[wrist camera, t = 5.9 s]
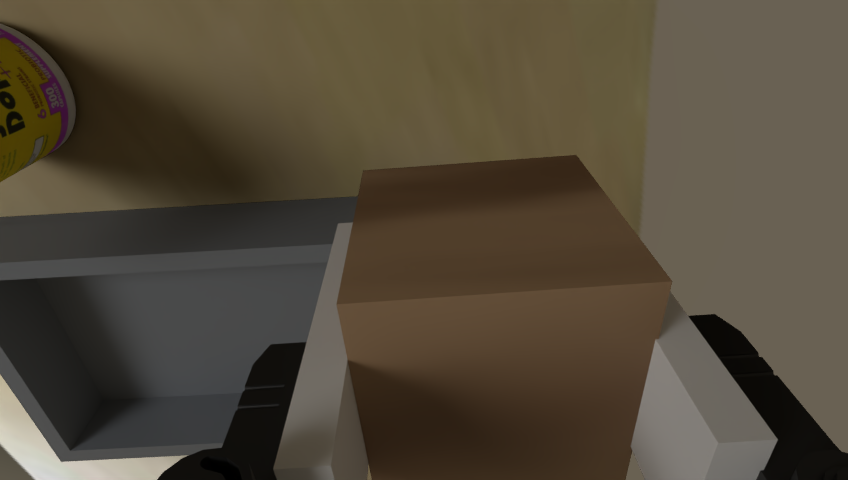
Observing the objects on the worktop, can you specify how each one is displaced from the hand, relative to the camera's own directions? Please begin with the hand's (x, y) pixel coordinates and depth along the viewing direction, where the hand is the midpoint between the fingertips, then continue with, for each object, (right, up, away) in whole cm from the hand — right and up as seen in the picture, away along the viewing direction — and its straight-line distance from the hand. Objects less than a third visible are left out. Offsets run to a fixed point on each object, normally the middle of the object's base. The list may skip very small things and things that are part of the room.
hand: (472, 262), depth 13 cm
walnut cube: (0, 0, 0) cm, 0 cm away
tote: (-12, -4, +19) cm, 23 cm away
